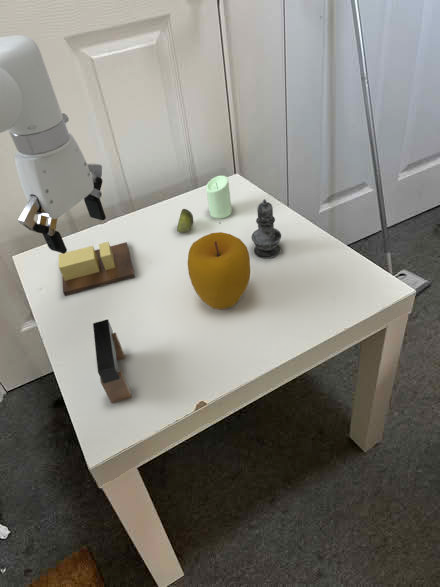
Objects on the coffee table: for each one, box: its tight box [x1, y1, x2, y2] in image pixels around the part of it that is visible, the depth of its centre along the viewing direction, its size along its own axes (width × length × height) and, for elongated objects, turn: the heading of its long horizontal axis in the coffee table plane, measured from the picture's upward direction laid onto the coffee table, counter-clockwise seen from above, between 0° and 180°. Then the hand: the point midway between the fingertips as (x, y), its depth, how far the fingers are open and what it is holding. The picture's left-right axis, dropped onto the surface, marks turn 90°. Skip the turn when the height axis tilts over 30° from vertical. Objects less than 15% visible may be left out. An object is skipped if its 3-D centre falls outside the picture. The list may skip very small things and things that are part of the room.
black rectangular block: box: [92, 319, 120, 384], centre depth 71 cm, size 2×10×8 cm, turn 16°
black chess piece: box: [251, 198, 282, 260], centre depth 89 cm, size 6×6×12 cm
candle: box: [205, 175, 233, 219], centre depth 101 cm, size 5×5×8 cm
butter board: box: [61, 241, 136, 297], centre depth 94 cm, size 14×11×1 cm
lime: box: [176, 208, 194, 233], centre depth 99 cm, size 4×5×5 cm
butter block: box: [58, 245, 100, 281], centre depth 92 cm, size 7×4×4 cm, turn 106°
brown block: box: [99, 332, 132, 404], centre depth 72 cm, size 3×9×6 cm, turn 16°
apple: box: [187, 231, 251, 310], centre depth 80 cm, size 11×11×13 cm
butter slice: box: [98, 241, 115, 270], centre depth 93 cm, size 2×4×4 cm, turn 16°
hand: (79, 233), depth 77 cm, fingers open, 9 cm apart
